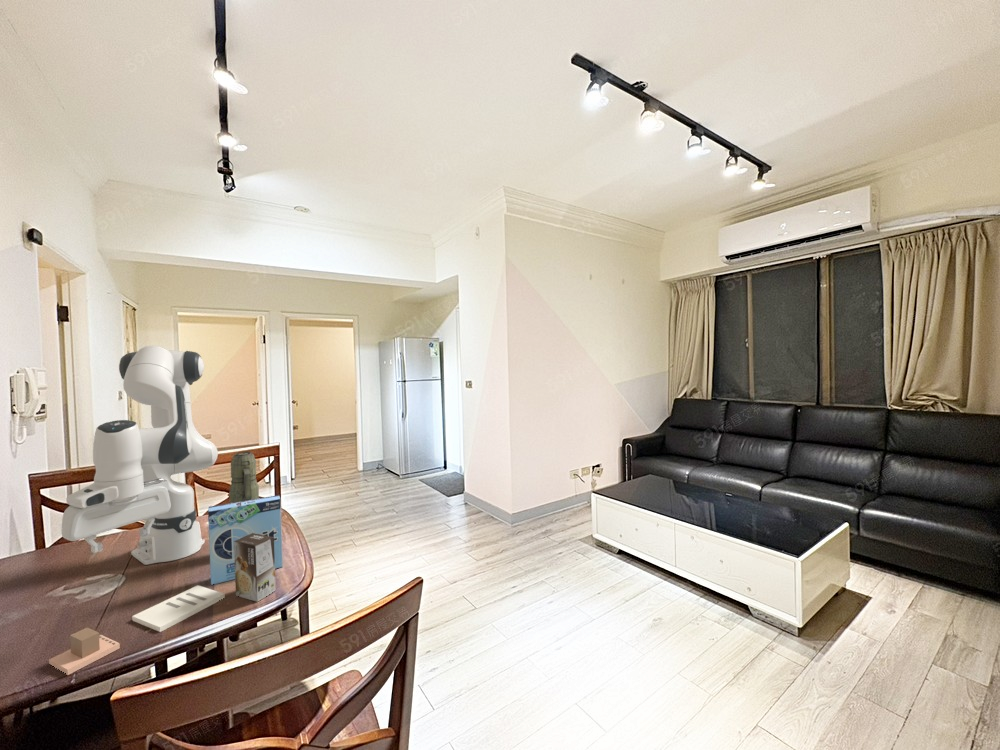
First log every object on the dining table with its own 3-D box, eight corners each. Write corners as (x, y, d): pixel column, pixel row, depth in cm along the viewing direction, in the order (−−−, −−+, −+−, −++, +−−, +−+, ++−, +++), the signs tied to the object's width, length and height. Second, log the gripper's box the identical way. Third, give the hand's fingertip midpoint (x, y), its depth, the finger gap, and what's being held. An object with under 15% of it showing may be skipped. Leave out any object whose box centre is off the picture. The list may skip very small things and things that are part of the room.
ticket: (132, 620, 107) (132, 615, 107) (197, 589, 122) (197, 584, 122) (160, 632, 102) (160, 626, 102) (224, 598, 117) (224, 593, 117)
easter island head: (237, 561, 139) (235, 458, 138) (225, 551, 146) (223, 453, 145) (266, 551, 146) (263, 453, 145) (253, 542, 153) (250, 449, 152)
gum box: (281, 561, 138) (279, 494, 138) (282, 568, 134) (281, 498, 134) (210, 578, 128) (208, 505, 127) (210, 586, 124) (207, 510, 123)
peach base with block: (49, 664, 91) (48, 641, 91) (101, 639, 100) (100, 618, 100) (67, 675, 88) (66, 651, 88) (119, 648, 97) (119, 626, 96)
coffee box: (277, 590, 121) (275, 536, 120) (257, 602, 115) (255, 545, 114) (254, 584, 124) (253, 532, 124) (234, 596, 118) (232, 540, 118)
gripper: (161, 474, 111) (162, 524, 112) (56, 499, 93) (59, 558, 94) (175, 477, 109) (176, 528, 110) (70, 503, 90) (73, 565, 91)
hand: (121, 543), depth 102 cm, fingers open, 8 cm apart
